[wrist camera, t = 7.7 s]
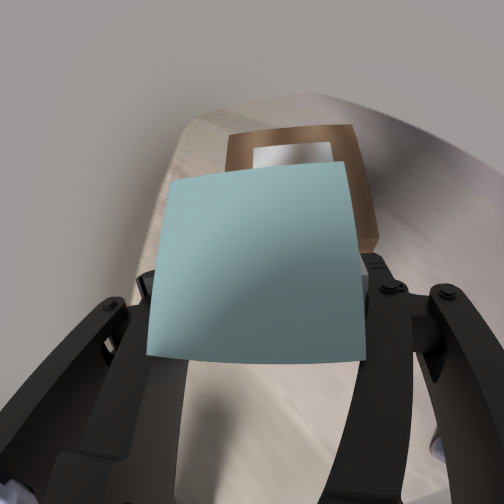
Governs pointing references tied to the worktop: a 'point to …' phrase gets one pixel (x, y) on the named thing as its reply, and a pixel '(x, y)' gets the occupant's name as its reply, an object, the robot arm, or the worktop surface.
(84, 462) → the robot arm
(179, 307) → the teal block
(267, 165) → the walnut plinth
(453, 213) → the worktop surface
